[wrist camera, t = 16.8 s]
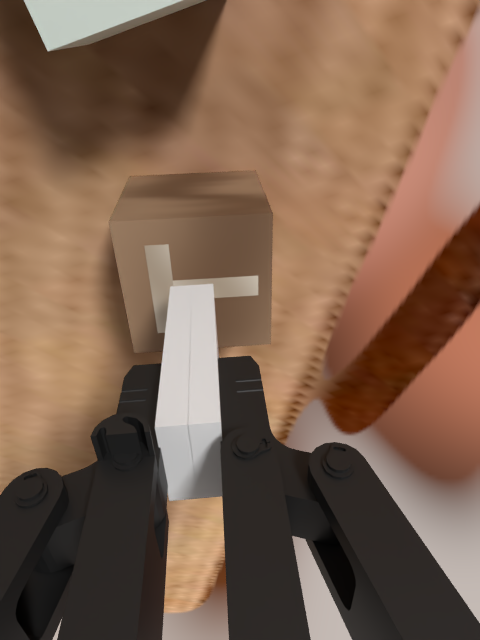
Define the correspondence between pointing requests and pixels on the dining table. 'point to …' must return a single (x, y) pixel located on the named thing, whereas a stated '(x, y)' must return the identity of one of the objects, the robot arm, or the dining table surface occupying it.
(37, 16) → the grey-green block
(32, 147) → the dining table surface
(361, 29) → the dining table surface
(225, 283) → the walnut block
